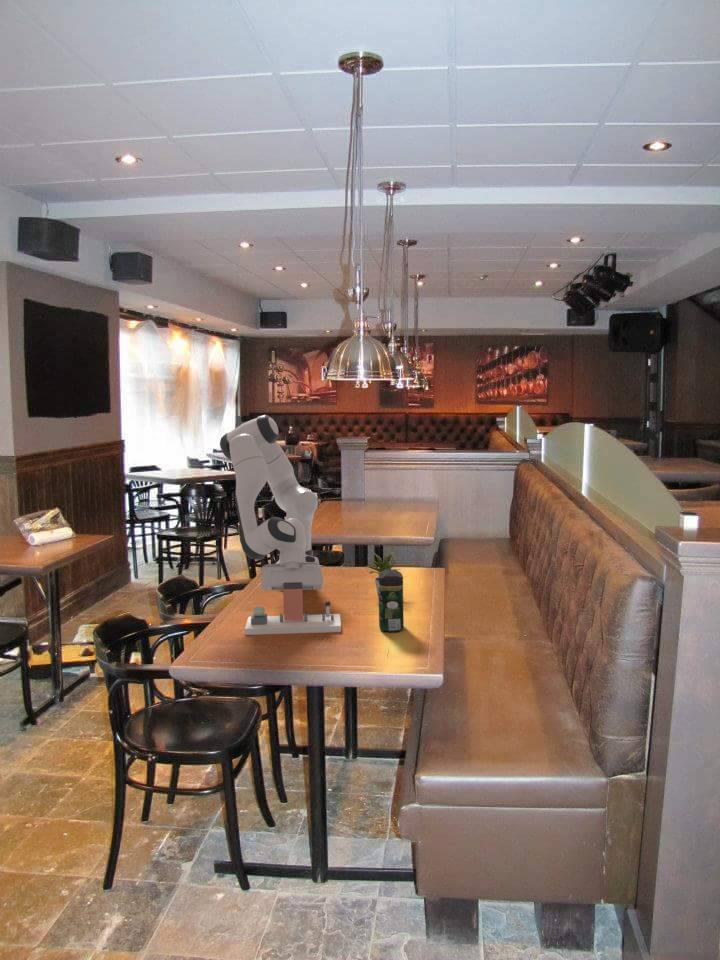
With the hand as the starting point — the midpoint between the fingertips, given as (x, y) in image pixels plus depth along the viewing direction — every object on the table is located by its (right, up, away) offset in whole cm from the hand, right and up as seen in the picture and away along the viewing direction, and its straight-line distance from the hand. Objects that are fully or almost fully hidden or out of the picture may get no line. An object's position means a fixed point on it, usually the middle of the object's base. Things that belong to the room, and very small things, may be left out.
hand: (292, 600), depth 234 cm
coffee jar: (+32, -9, -2) cm, 33 cm away
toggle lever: (+11, -6, 0) cm, 13 cm away
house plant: (+31, -4, +35) cm, 47 cm away
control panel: (+1, -8, 0) cm, 9 cm away
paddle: (0, -6, 0) cm, 6 cm away
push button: (-11, -5, -1) cm, 12 cm away
